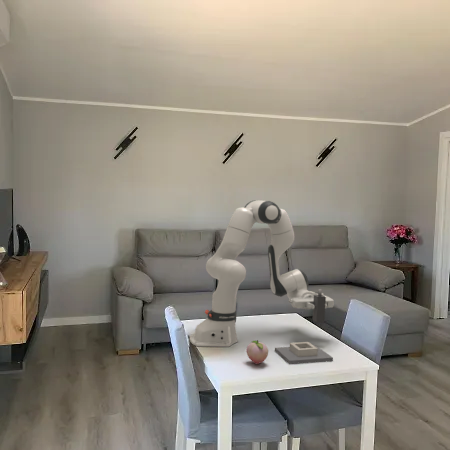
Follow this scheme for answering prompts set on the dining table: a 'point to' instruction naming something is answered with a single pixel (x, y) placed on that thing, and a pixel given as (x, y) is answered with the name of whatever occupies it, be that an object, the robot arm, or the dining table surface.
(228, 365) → the dining table surface
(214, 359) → the dining table surface
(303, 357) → the socket
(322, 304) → the plug
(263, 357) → the decorative fruit
